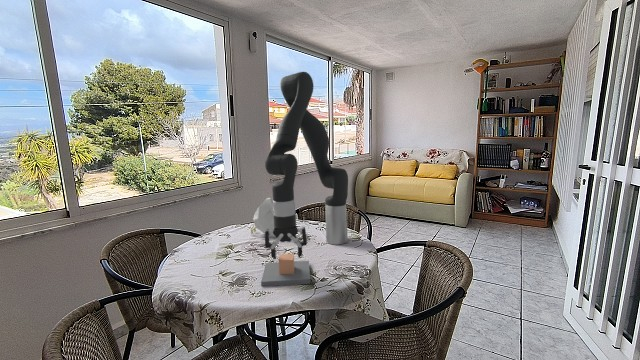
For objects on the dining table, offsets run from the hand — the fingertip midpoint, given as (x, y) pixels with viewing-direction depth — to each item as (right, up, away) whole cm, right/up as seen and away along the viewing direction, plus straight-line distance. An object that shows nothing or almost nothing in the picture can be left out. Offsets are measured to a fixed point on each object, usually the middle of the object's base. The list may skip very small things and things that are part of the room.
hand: (287, 257), depth 104 cm
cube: (0, -5, +1) cm, 5 cm away
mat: (0, -6, +1) cm, 6 cm away
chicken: (-12, 0, +41) cm, 43 cm away
